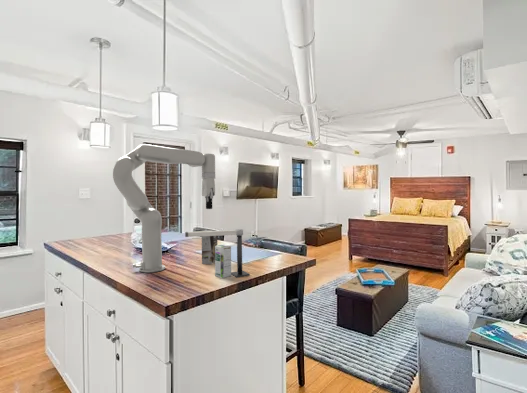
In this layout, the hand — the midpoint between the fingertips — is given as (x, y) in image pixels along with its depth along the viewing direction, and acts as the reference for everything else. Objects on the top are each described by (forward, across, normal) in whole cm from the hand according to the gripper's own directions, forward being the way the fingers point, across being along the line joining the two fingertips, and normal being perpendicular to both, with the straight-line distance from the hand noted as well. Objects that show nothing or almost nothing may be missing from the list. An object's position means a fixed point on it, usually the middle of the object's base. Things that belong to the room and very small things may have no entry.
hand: (209, 208), depth 177 cm
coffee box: (+30, 0, 0) cm, 30 cm away
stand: (+30, +32, +4) cm, 44 cm away
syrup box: (+30, +30, -4) cm, 42 cm away
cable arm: (+11, +28, -7) cm, 31 cm away
